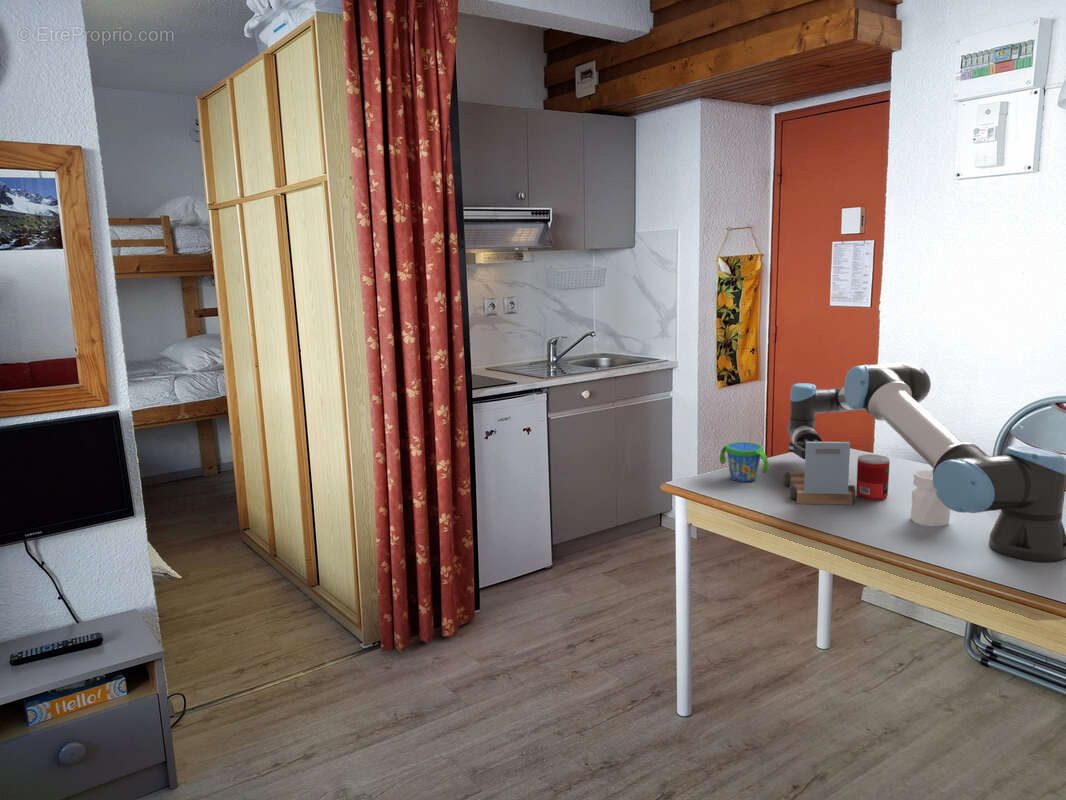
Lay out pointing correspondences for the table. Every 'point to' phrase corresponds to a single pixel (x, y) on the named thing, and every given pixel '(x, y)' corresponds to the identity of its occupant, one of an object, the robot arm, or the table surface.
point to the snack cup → (744, 460)
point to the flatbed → (797, 492)
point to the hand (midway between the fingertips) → (821, 462)
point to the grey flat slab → (827, 467)
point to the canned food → (872, 477)
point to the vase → (927, 501)
